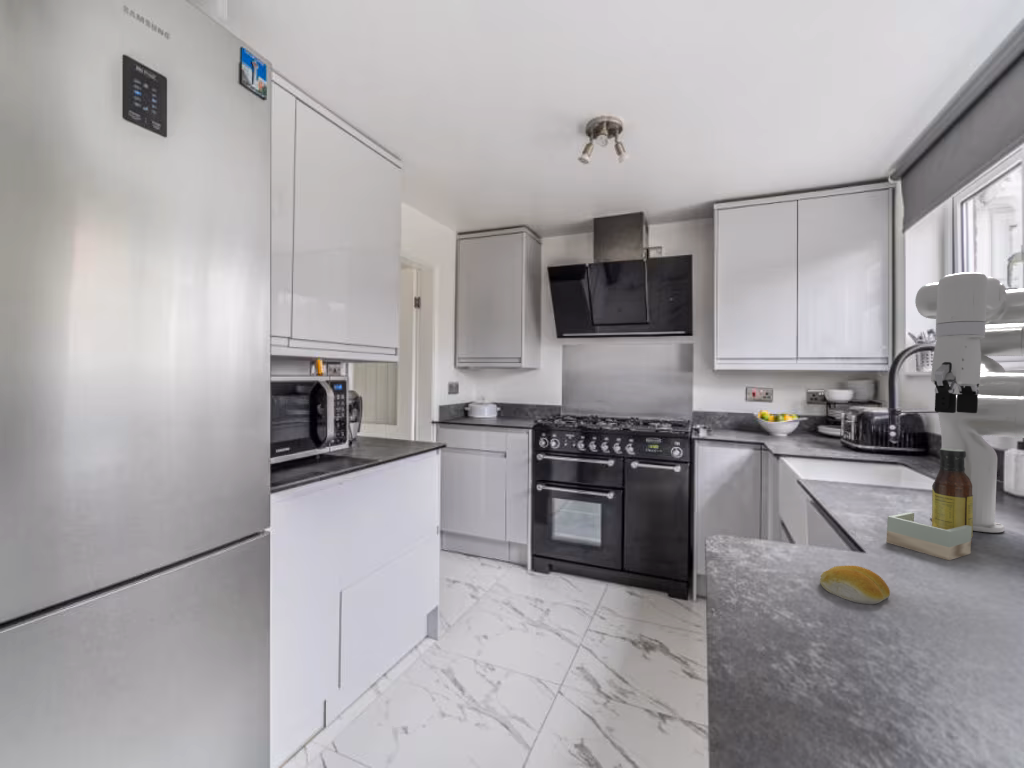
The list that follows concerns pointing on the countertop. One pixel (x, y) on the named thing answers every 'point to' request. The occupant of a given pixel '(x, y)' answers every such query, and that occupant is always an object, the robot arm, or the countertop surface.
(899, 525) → the tray
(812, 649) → the countertop surface
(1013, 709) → the countertop surface
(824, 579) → the bread roll
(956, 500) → the sauce bottle
